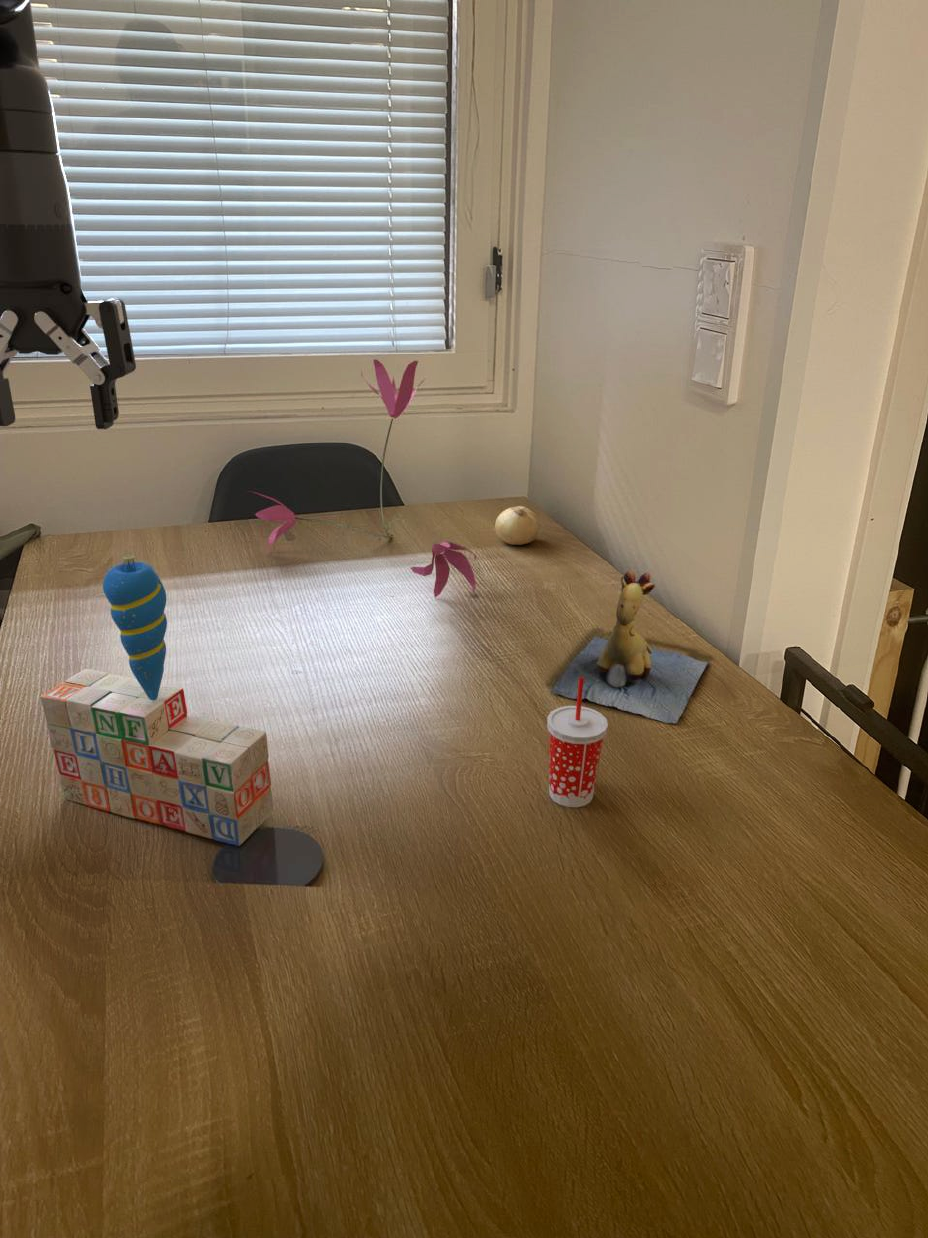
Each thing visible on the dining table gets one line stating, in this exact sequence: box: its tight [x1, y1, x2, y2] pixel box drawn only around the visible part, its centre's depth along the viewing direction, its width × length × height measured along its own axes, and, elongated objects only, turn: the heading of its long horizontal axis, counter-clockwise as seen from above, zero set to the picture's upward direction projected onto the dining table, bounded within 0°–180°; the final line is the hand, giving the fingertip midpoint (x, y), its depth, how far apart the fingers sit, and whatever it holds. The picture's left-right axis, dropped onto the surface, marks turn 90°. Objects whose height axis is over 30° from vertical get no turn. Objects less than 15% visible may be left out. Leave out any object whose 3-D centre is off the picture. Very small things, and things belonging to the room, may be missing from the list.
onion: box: [494, 505, 540, 546], centre depth 163 cm, size 8×8×7 cm
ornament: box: [102, 549, 168, 700], centre depth 83 cm, size 5×5×15 cm
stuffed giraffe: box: [550, 570, 709, 724], centre depth 116 cm, size 16×18×16 cm
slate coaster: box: [212, 826, 324, 887], centre depth 84 cm, size 10×10×1 cm
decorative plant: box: [246, 359, 477, 599], centre depth 149 cm, size 38×42×30 cm
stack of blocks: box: [40, 668, 274, 846], centre depth 89 cm, size 21×6×12 cm, turn 69°
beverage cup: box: [546, 676, 609, 808], centre depth 93 cm, size 6×6×14 cm
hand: (55, 425), depth 77 cm, fingers open, 8 cm apart
